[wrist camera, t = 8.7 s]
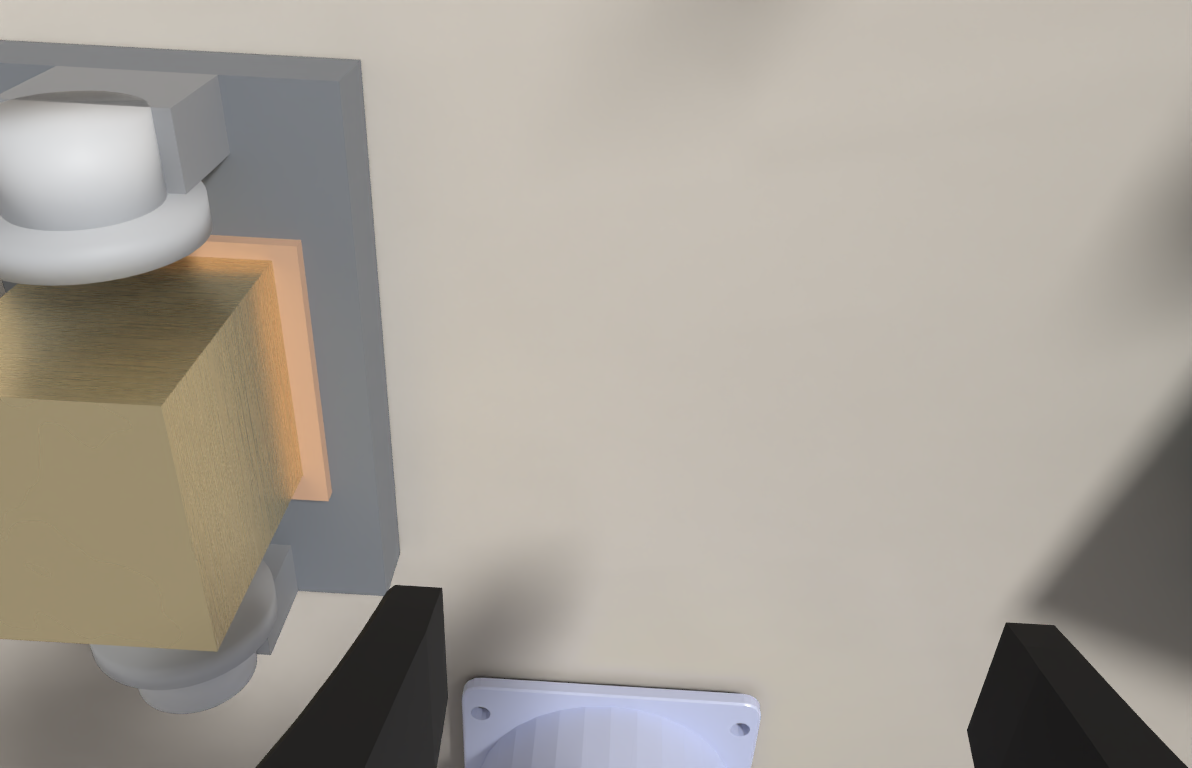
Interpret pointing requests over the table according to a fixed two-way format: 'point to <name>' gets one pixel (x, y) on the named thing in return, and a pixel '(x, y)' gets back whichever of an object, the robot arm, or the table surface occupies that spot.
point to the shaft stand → (222, 230)
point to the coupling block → (141, 453)
